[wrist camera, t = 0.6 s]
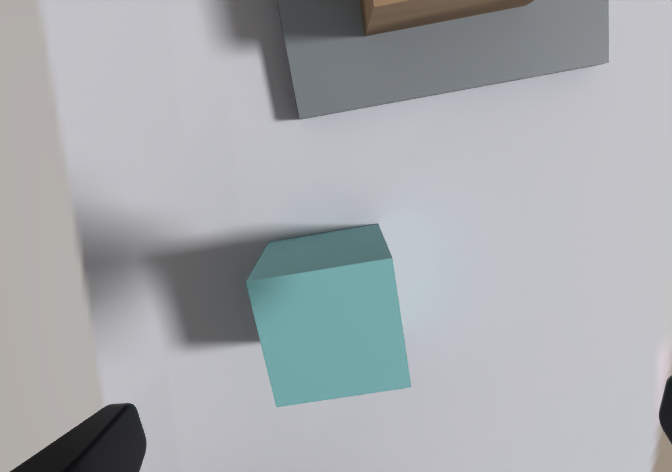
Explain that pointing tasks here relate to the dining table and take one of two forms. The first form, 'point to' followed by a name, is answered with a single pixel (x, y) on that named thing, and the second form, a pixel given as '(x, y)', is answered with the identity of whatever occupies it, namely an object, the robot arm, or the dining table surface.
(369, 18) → the walnut base block
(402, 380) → the teal cube
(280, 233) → the dining table surface
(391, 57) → the slate board
